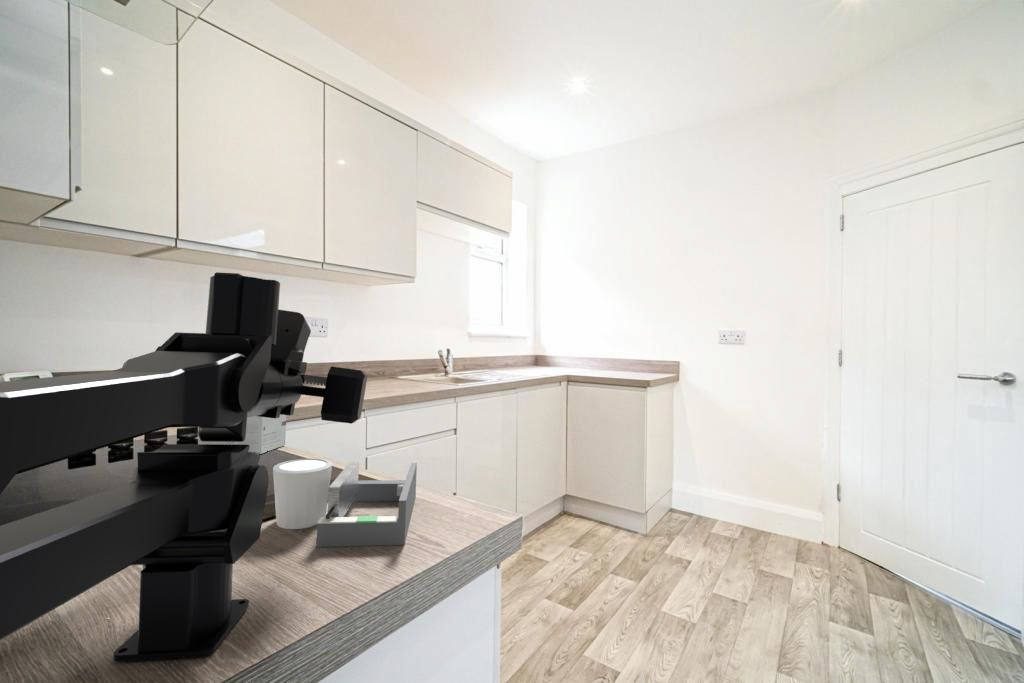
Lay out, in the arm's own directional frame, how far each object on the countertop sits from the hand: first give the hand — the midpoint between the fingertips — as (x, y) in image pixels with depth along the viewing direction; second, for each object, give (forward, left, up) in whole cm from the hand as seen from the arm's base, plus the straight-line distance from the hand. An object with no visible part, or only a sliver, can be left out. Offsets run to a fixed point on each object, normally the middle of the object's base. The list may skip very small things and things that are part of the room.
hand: (303, 386), depth 60 cm
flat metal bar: (-5, -6, -15) cm, 17 cm away
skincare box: (+34, +18, -17) cm, 42 cm away
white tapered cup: (-3, -1, -17) cm, 17 cm away
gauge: (-3, -10, -17) cm, 20 cm away
